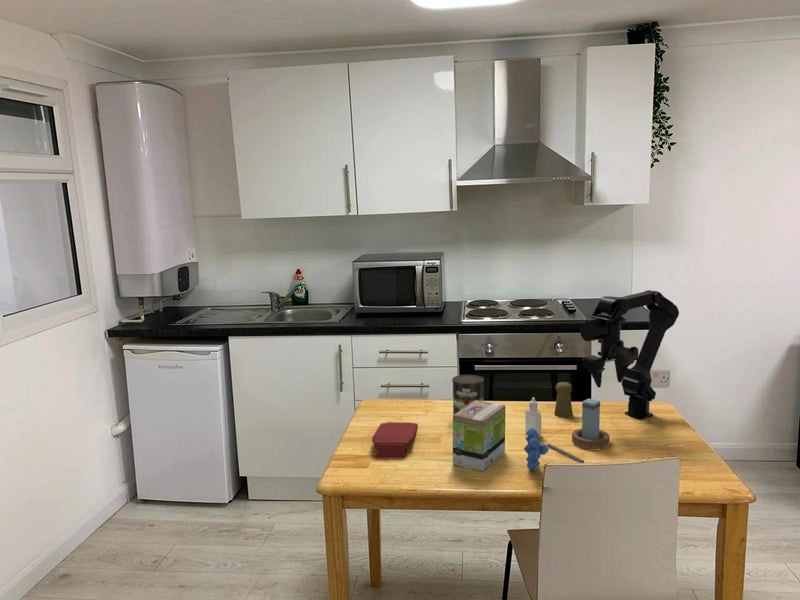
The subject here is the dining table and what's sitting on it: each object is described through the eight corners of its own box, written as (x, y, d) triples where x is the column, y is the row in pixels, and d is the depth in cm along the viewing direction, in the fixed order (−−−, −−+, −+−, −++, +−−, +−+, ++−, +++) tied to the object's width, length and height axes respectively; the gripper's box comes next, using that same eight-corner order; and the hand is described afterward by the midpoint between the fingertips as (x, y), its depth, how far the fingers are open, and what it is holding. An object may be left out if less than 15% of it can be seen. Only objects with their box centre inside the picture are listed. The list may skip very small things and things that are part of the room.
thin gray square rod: (549, 445, 184) (549, 443, 184) (584, 462, 172) (584, 460, 172) (546, 446, 184) (546, 444, 184) (581, 463, 172) (581, 461, 172)
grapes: (551, 480, 163) (551, 436, 161) (525, 479, 164) (525, 436, 162) (546, 461, 174) (547, 420, 172) (522, 460, 175) (522, 419, 173)
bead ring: (590, 433, 192) (590, 425, 192) (616, 444, 183) (616, 436, 183) (565, 440, 188) (565, 432, 187) (590, 452, 178) (590, 444, 178)
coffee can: (482, 425, 202) (482, 384, 199) (451, 424, 204) (450, 382, 202) (485, 414, 212) (484, 374, 209) (455, 413, 214) (454, 373, 211)
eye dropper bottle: (527, 438, 190) (527, 400, 188) (524, 431, 196) (524, 394, 194) (541, 438, 190) (542, 400, 188) (538, 431, 196) (538, 394, 194)
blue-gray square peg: (588, 439, 188) (588, 398, 186) (599, 442, 185) (600, 400, 183) (581, 443, 185) (582, 401, 183) (592, 446, 183) (593, 404, 181)
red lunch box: (381, 437, 205) (370, 457, 181) (381, 422, 205) (369, 440, 180) (418, 437, 204) (411, 458, 179) (418, 422, 204) (411, 441, 179)
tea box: (484, 472, 168) (484, 420, 166) (451, 465, 174) (450, 414, 171) (506, 452, 181) (506, 403, 178) (474, 445, 186) (474, 398, 184)
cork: (571, 411, 212) (571, 380, 210) (574, 417, 206) (574, 385, 204) (553, 411, 212) (553, 380, 211) (555, 417, 207) (556, 385, 205)
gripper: (608, 346, 184) (607, 396, 186) (652, 337, 192) (650, 386, 195) (581, 339, 193) (580, 387, 196) (623, 331, 202) (622, 377, 205)
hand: (609, 384), depth 198 cm, fingers open, 9 cm apart
